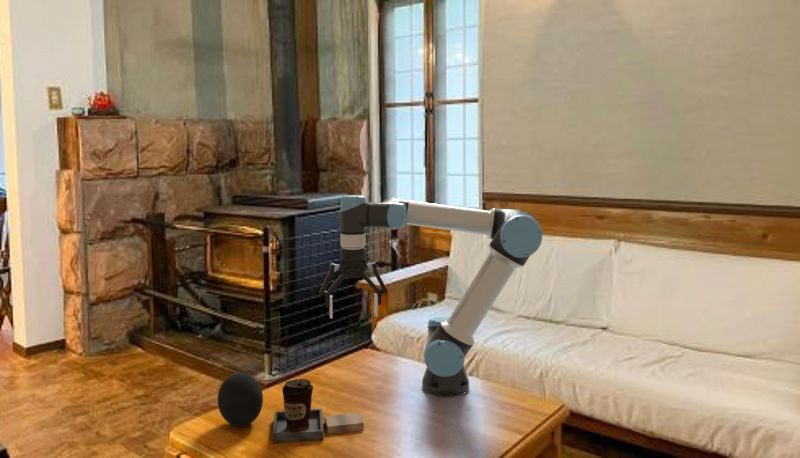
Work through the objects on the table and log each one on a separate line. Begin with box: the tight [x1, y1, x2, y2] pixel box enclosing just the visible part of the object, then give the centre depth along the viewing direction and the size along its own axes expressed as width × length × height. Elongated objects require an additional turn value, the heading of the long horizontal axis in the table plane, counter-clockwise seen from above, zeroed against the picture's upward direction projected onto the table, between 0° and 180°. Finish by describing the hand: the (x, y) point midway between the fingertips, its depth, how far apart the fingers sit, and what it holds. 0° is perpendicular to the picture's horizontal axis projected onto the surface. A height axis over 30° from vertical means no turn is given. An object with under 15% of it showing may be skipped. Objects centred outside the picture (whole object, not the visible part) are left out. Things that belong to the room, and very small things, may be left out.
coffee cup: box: [282, 378, 314, 431], centre depth 180 cm, size 9×8×13 cm
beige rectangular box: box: [324, 412, 365, 434], centre depth 183 cm, size 10×7×2 cm
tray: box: [272, 408, 325, 444], centre depth 181 cm, size 13×14×2 cm
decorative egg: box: [217, 372, 264, 427], centre depth 183 cm, size 12×12×15 cm
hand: (353, 316), depth 197 cm, fingers open, 13 cm apart
